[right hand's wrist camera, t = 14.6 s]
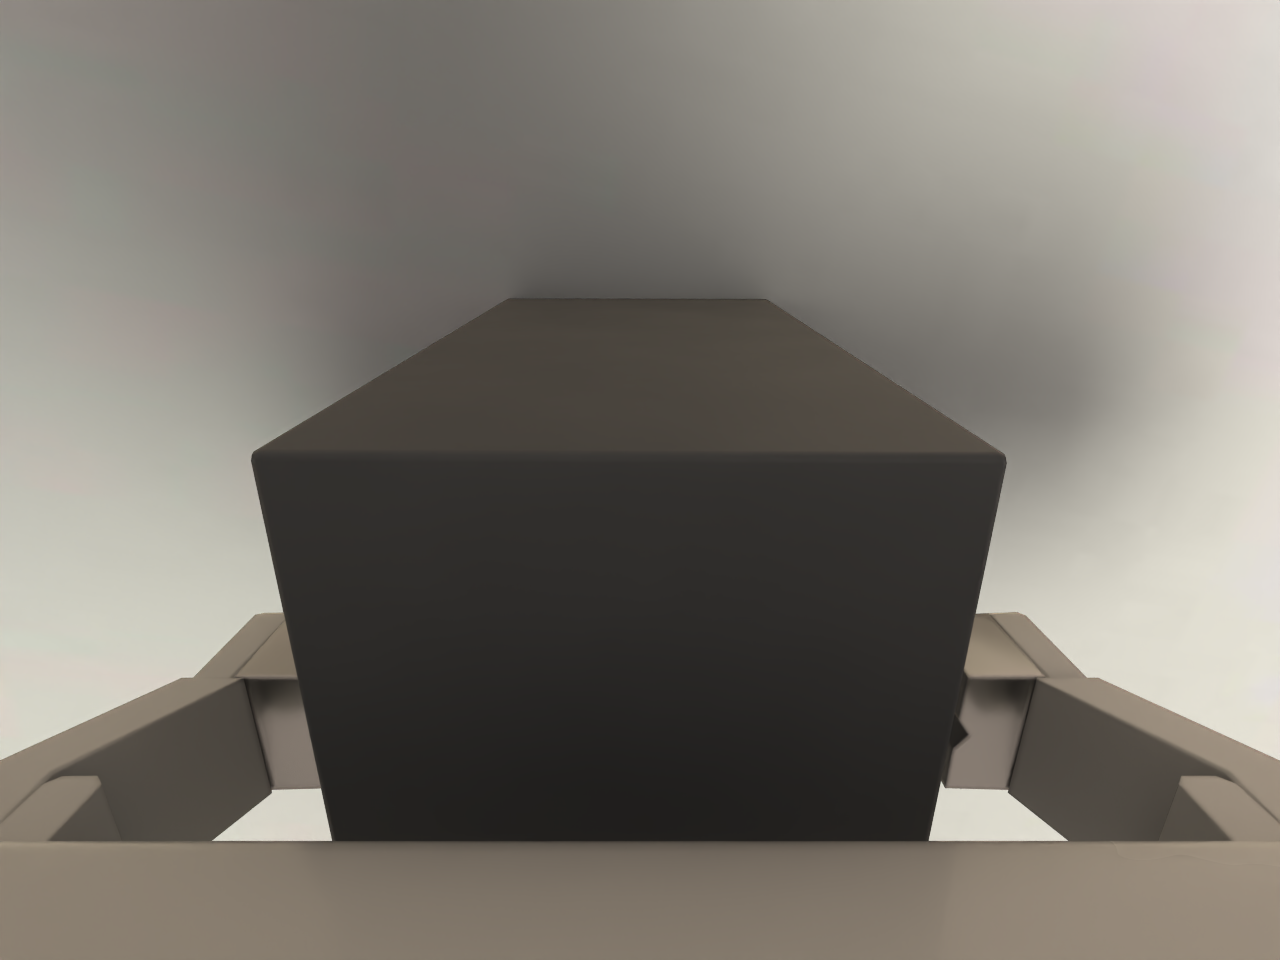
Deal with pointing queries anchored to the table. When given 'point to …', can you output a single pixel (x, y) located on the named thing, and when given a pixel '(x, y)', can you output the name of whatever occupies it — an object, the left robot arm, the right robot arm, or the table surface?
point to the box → (630, 582)
